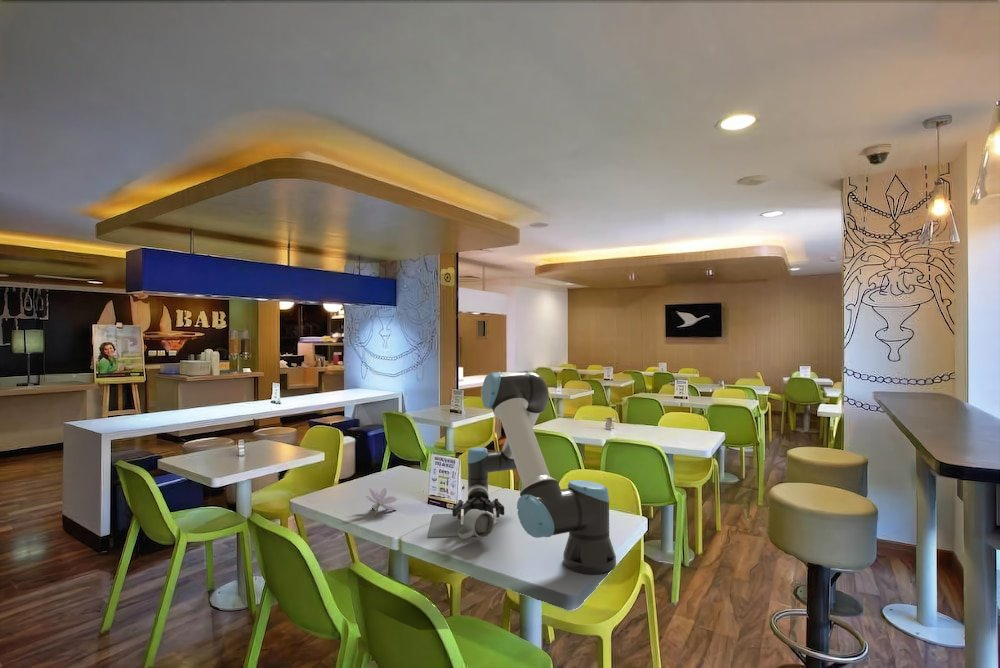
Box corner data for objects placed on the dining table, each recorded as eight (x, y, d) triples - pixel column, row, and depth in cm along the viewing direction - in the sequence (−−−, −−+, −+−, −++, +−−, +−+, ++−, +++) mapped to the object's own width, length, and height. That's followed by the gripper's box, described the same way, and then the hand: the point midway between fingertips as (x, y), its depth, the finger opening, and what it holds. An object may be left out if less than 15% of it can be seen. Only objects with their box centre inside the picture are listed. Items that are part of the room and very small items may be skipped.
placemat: (481, 536, 169) (481, 534, 169) (427, 537, 168) (427, 536, 168) (481, 513, 191) (481, 512, 191) (433, 515, 190) (433, 514, 190)
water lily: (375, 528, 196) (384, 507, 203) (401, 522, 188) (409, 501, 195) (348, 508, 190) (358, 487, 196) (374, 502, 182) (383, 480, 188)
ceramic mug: (480, 527, 168) (479, 504, 168) (494, 534, 161) (494, 510, 161) (453, 535, 162) (452, 511, 162) (466, 543, 155) (465, 518, 155)
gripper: (509, 507, 181) (514, 530, 158) (446, 509, 179) (442, 533, 157) (509, 486, 181) (514, 506, 158) (446, 488, 180) (442, 508, 157)
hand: (478, 519), depth 158 cm, fingers closed on ceramic mug, 10 cm apart
